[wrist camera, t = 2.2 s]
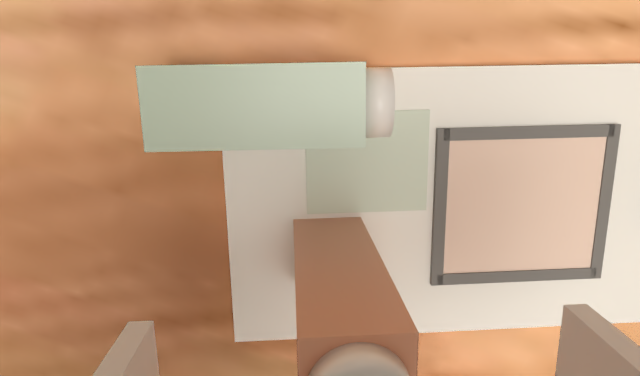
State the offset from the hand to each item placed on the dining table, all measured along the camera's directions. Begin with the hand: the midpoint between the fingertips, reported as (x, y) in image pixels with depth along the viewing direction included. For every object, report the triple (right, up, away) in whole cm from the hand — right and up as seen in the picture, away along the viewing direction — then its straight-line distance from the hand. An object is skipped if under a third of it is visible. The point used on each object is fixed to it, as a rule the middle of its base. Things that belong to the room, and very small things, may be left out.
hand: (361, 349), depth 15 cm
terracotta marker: (-1, +2, +9) cm, 9 cm away
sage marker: (-4, +9, +7) cm, 12 cm away
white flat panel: (+8, +4, +10) cm, 13 cm away
